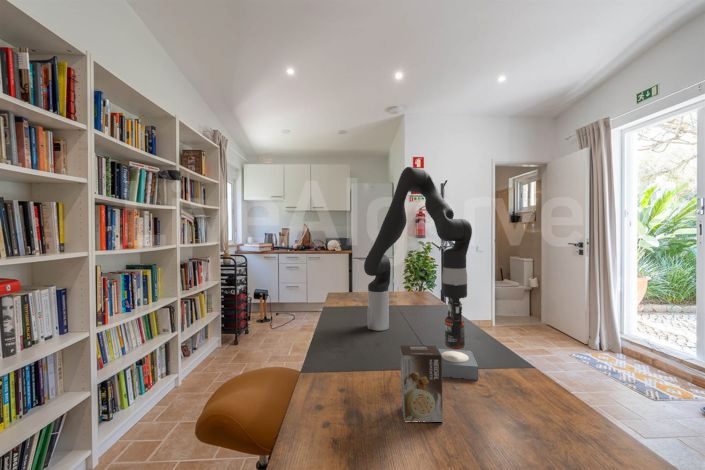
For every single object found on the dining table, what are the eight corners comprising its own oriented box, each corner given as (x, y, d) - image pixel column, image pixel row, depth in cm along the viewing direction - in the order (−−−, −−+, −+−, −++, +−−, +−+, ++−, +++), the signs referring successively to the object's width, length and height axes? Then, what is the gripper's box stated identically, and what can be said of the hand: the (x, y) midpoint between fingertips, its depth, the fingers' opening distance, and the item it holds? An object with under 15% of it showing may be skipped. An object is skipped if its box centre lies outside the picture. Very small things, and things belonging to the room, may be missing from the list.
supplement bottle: (464, 344, 101) (464, 309, 101) (464, 351, 95) (464, 314, 95) (445, 342, 103) (445, 308, 103) (444, 348, 97) (444, 312, 97)
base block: (436, 376, 94) (436, 362, 94) (434, 359, 106) (434, 347, 106) (478, 379, 92) (478, 365, 92) (471, 362, 104) (471, 350, 104)
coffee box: (437, 408, 78) (437, 344, 78) (443, 424, 72) (443, 355, 71) (400, 407, 78) (400, 344, 78) (403, 423, 72) (403, 354, 72)
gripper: (440, 277, 106) (440, 326, 107) (444, 285, 92) (444, 341, 93) (463, 278, 105) (463, 327, 105) (470, 286, 91) (471, 342, 91)
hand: (454, 333), depth 99 cm, fingers closed on supplement bottle, 6 cm apart
